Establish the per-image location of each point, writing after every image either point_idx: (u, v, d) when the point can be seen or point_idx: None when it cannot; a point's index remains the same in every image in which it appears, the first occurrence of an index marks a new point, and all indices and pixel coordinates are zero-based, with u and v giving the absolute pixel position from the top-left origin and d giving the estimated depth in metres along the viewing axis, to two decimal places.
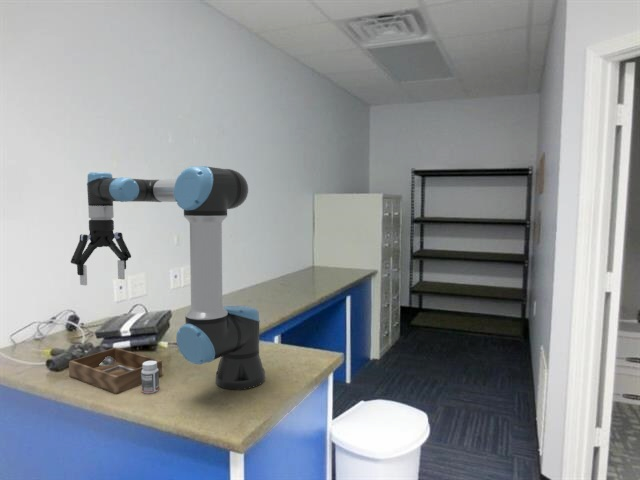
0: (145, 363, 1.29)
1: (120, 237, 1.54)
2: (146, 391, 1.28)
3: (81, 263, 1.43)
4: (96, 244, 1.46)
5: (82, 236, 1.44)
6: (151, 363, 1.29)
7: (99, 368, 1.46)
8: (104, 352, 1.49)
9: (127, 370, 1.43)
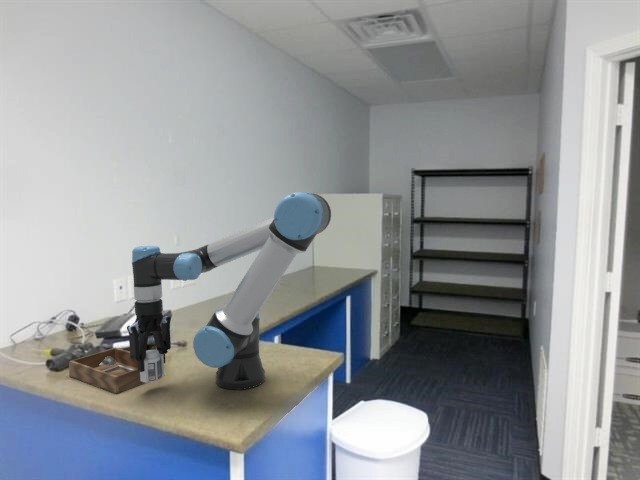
0: (147, 352, 1.29)
1: (167, 322, 1.33)
2: None
3: (142, 359, 1.26)
4: (147, 332, 1.26)
5: (130, 329, 1.23)
6: (153, 352, 1.29)
7: (99, 368, 1.46)
8: (104, 352, 1.49)
9: (127, 370, 1.43)
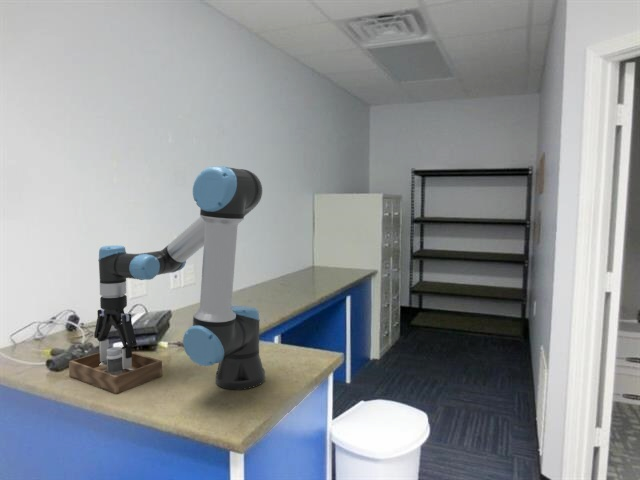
0: (113, 347, 1.41)
1: (122, 320, 1.35)
2: None
3: (98, 339, 1.43)
4: (103, 321, 1.39)
5: None
6: (111, 349, 1.39)
7: (99, 368, 1.46)
8: None
9: (127, 370, 1.43)
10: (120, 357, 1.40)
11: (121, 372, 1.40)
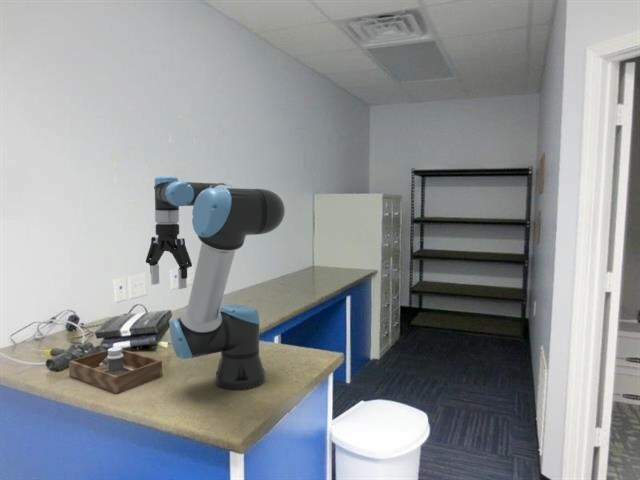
0: (114, 347, 1.41)
1: (177, 244, 1.45)
2: None
3: (149, 263, 1.53)
4: (157, 247, 1.50)
5: None
6: (112, 349, 1.39)
7: (99, 368, 1.46)
8: (104, 352, 1.49)
9: (127, 370, 1.43)
10: (121, 357, 1.40)
11: (121, 372, 1.40)
